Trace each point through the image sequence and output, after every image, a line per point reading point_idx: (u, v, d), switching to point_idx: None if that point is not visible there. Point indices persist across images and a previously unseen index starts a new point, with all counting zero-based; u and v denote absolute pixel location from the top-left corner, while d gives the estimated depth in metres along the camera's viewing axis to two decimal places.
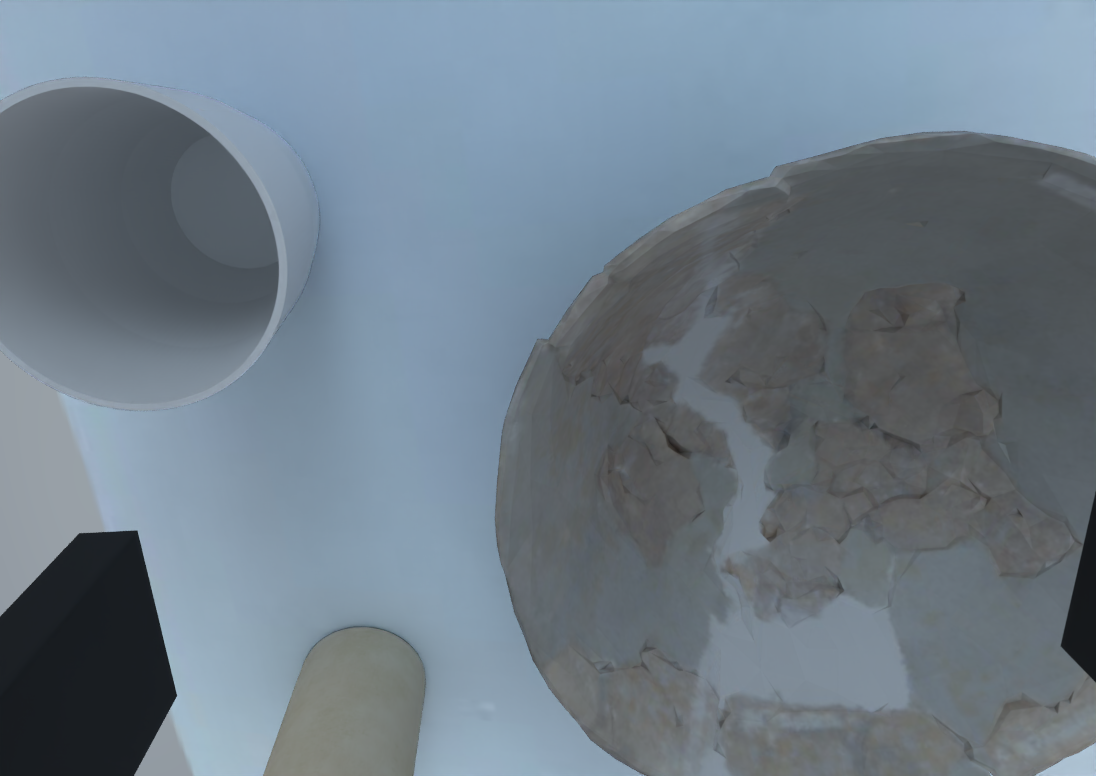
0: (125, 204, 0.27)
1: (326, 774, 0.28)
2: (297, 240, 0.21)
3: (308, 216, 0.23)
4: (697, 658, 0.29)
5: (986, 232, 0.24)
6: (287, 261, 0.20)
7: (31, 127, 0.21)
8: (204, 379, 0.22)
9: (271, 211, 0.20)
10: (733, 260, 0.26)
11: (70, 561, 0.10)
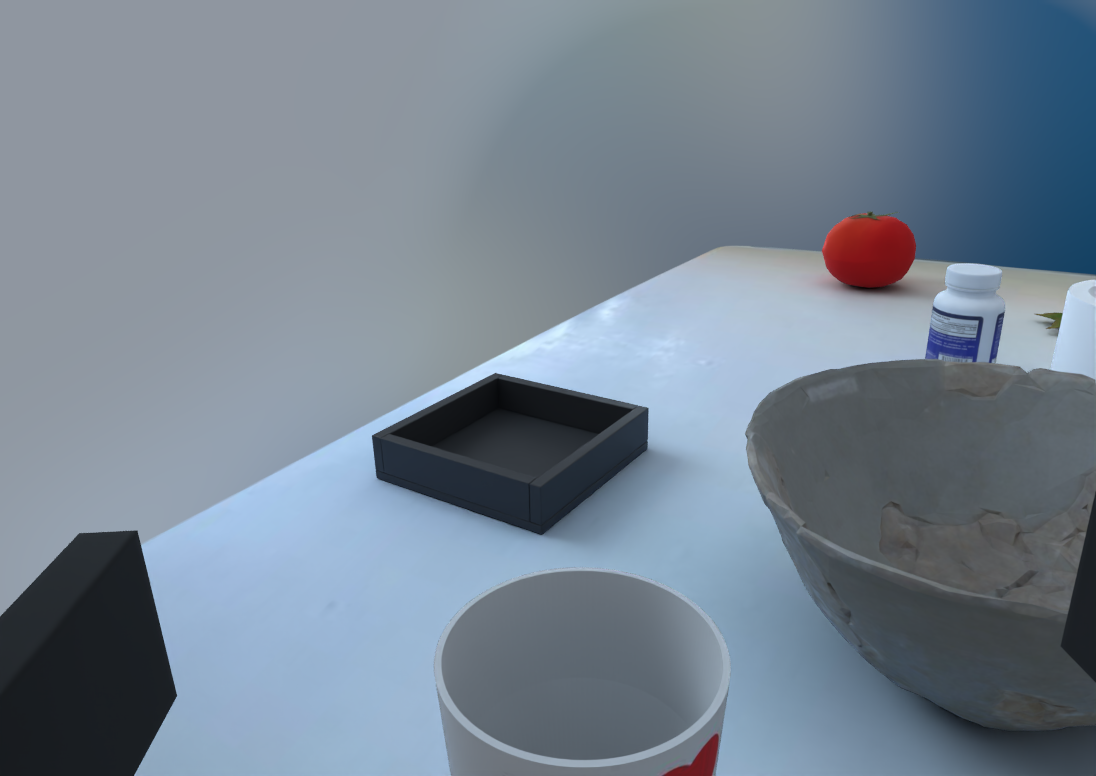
0: None
1: None
2: None
3: None
4: None
5: (842, 453, 0.42)
6: (657, 583, 0.26)
7: None
8: None
9: (620, 572, 0.26)
10: None
11: (68, 560, 0.10)
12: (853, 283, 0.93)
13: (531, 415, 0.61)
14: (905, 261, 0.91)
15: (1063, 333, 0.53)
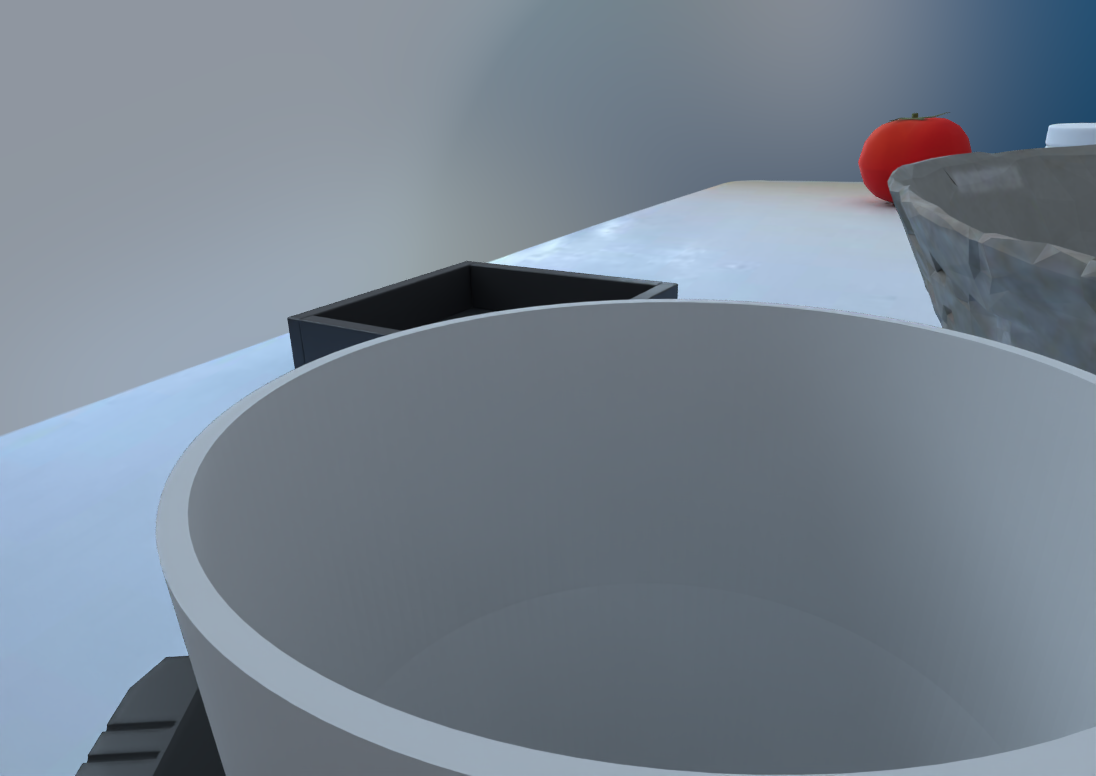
0: None
1: None
2: None
3: None
4: None
5: None
6: None
7: (259, 633, 0.07)
8: None
9: (735, 301, 0.10)
10: None
11: None
12: None
13: None
14: None
15: None
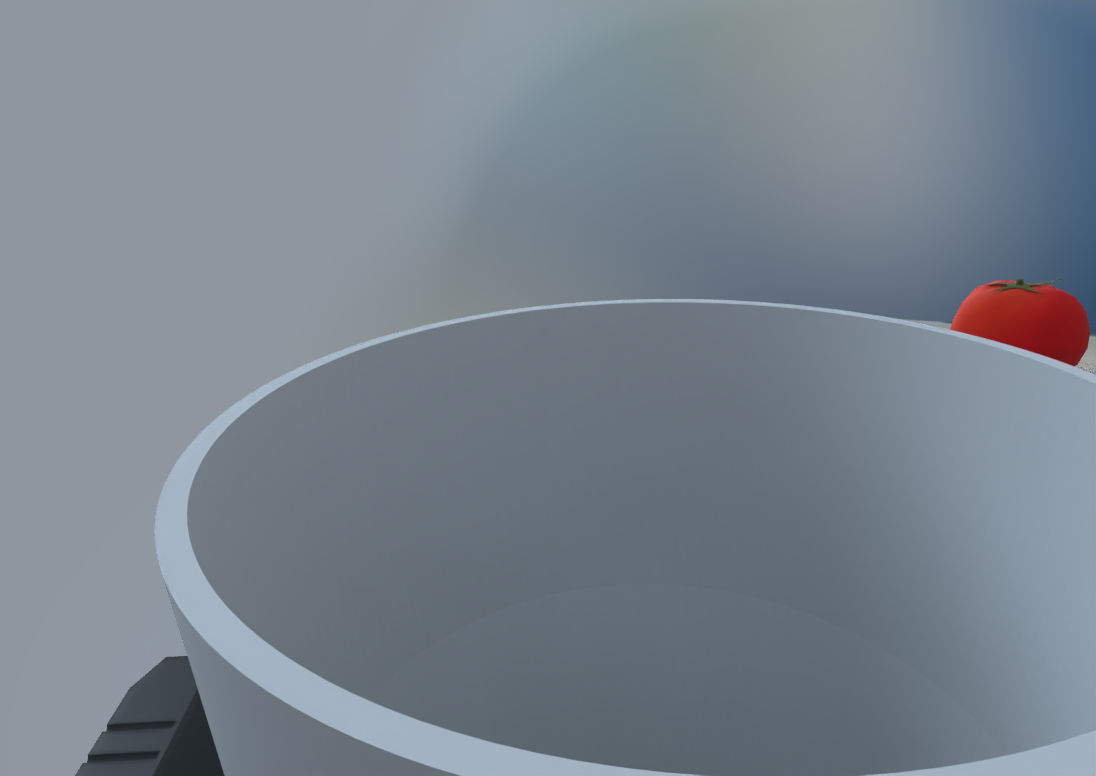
0: None
1: None
2: None
3: None
4: None
5: None
6: None
7: (259, 634, 0.07)
8: None
9: (735, 301, 0.10)
10: None
11: None
12: None
13: None
14: (1078, 352, 0.63)
15: None
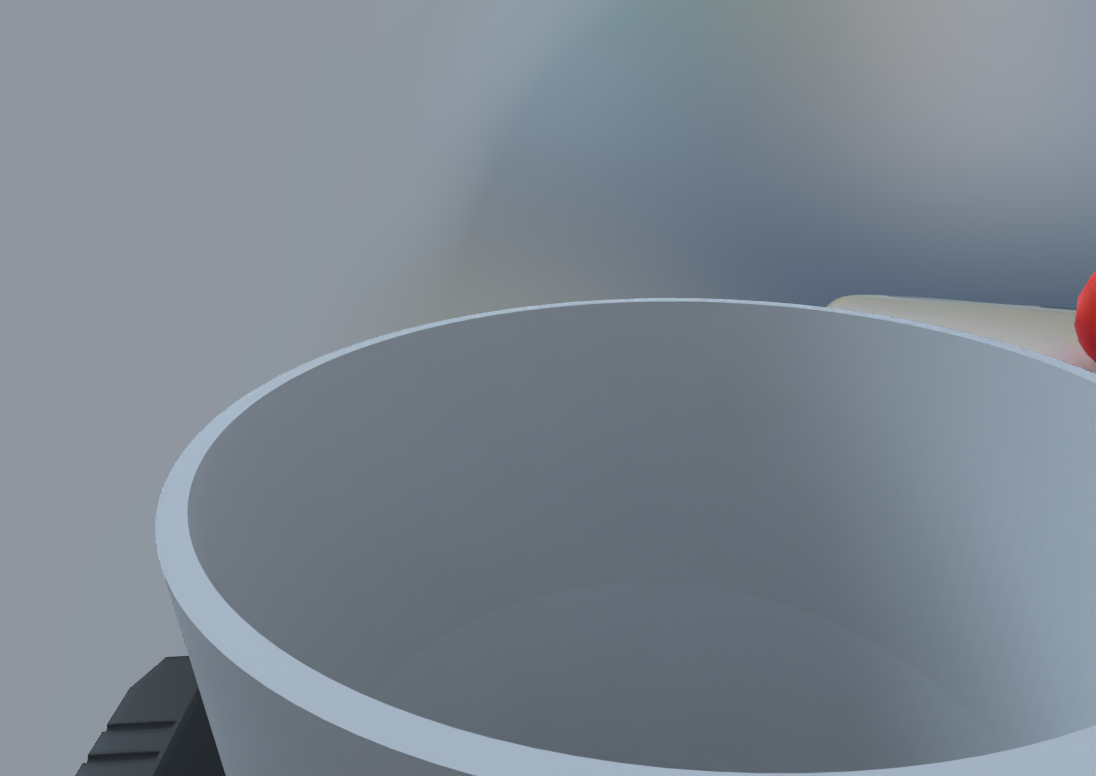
0: None
1: None
2: None
3: None
4: None
5: None
6: None
7: (259, 632, 0.07)
8: None
9: (735, 300, 0.10)
10: None
11: None
12: None
13: None
14: None
15: None
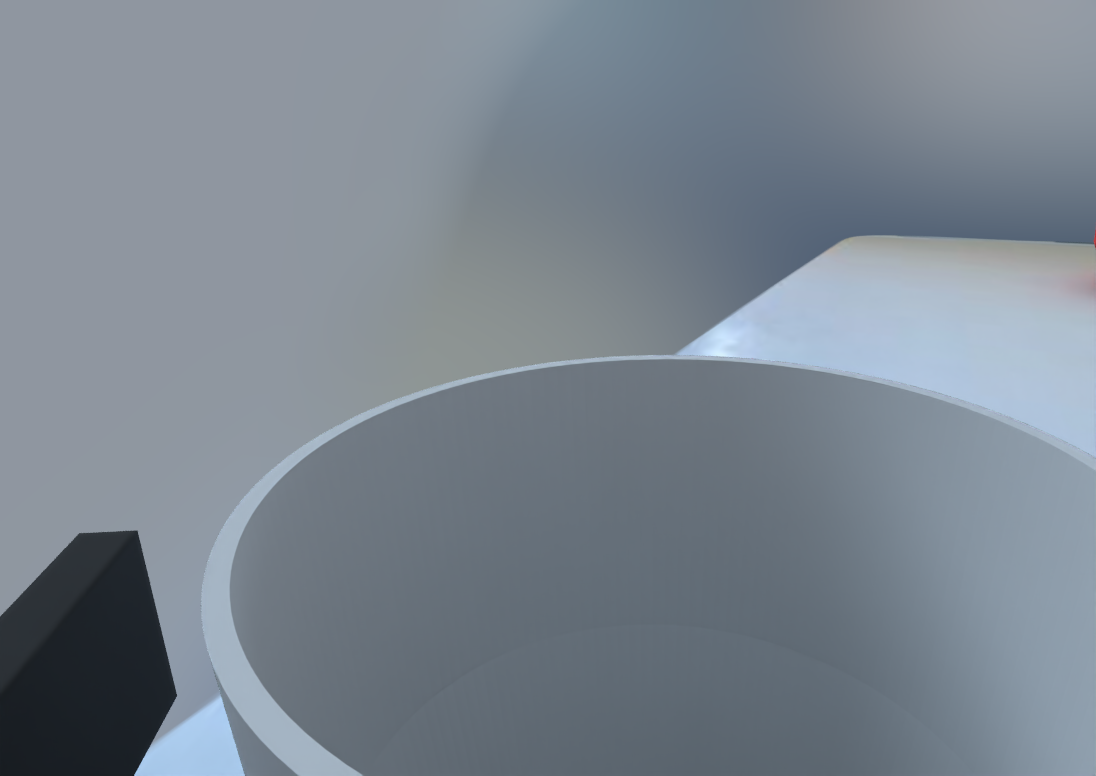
0: None
1: None
2: None
3: None
4: None
5: None
6: None
7: (289, 694, 0.08)
8: None
9: (736, 358, 0.11)
10: None
11: (68, 560, 0.10)
12: None
13: None
14: None
15: None
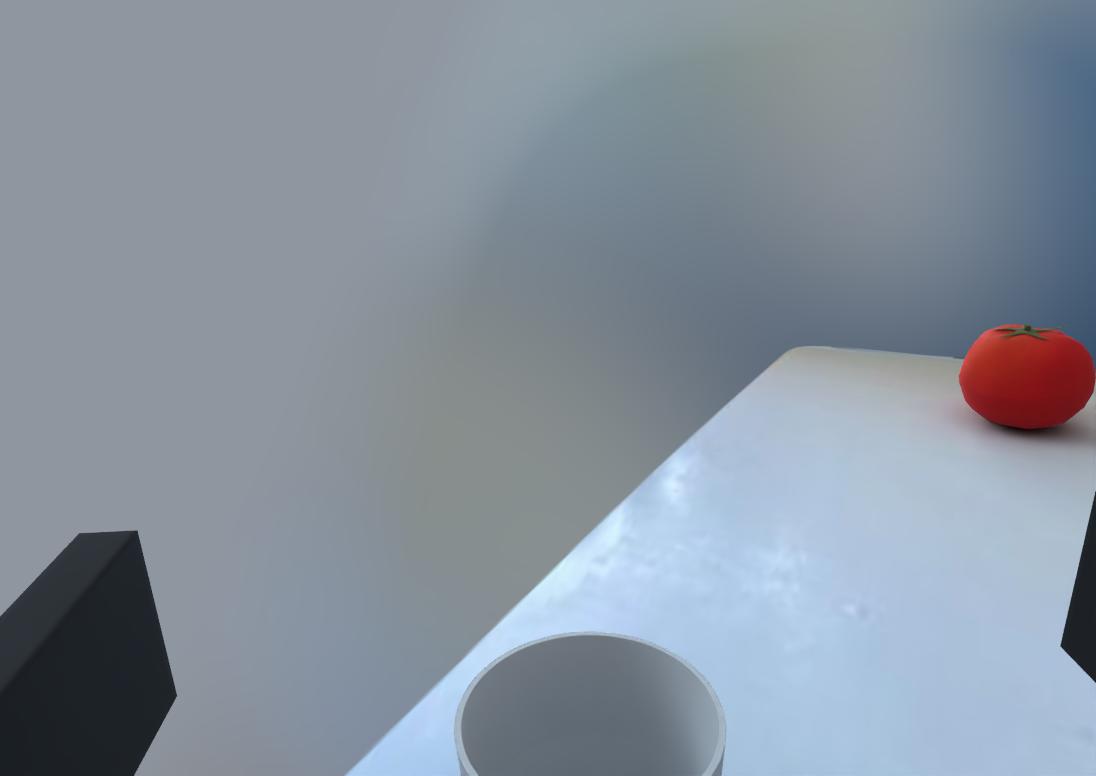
0: None
1: None
2: None
3: None
4: None
5: None
6: (656, 646, 0.28)
7: None
8: None
9: (621, 635, 0.28)
10: None
11: (69, 560, 0.10)
12: (1007, 424, 0.67)
13: None
14: (1084, 396, 0.65)
15: None
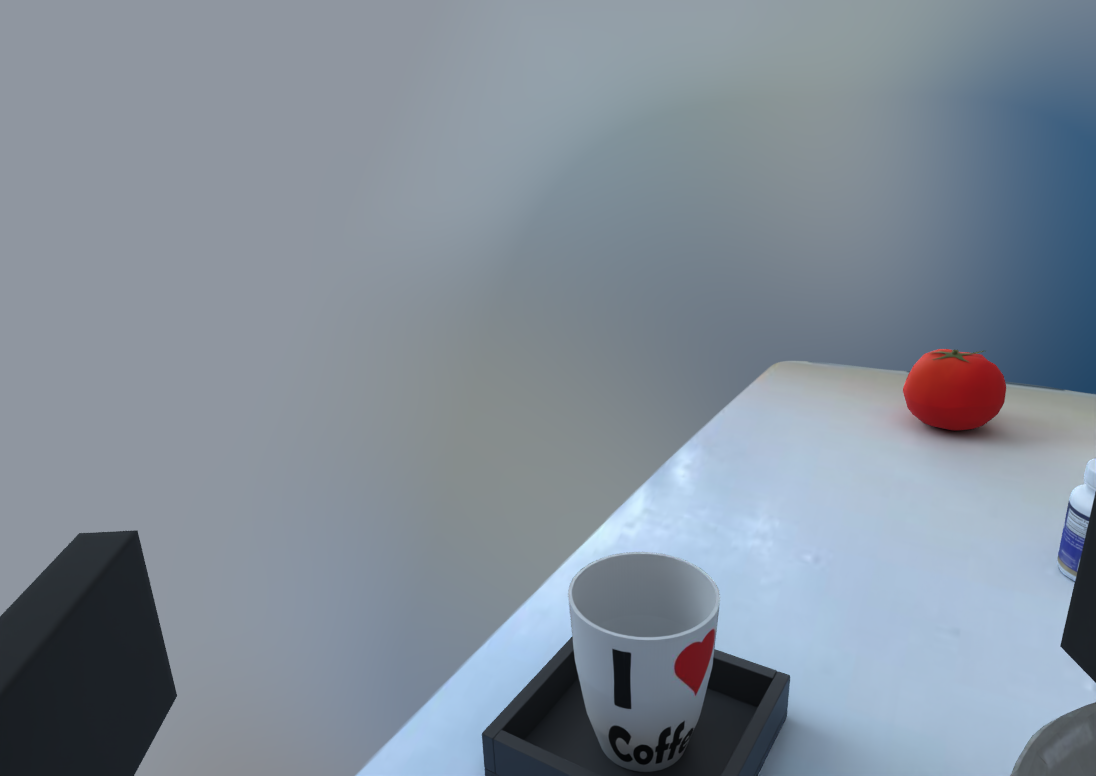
0: None
1: None
2: None
3: None
4: None
5: None
6: (679, 559, 0.47)
7: None
8: None
9: (658, 554, 0.48)
10: None
11: (68, 560, 0.10)
12: (939, 426, 0.87)
13: None
14: (997, 406, 0.85)
15: None
